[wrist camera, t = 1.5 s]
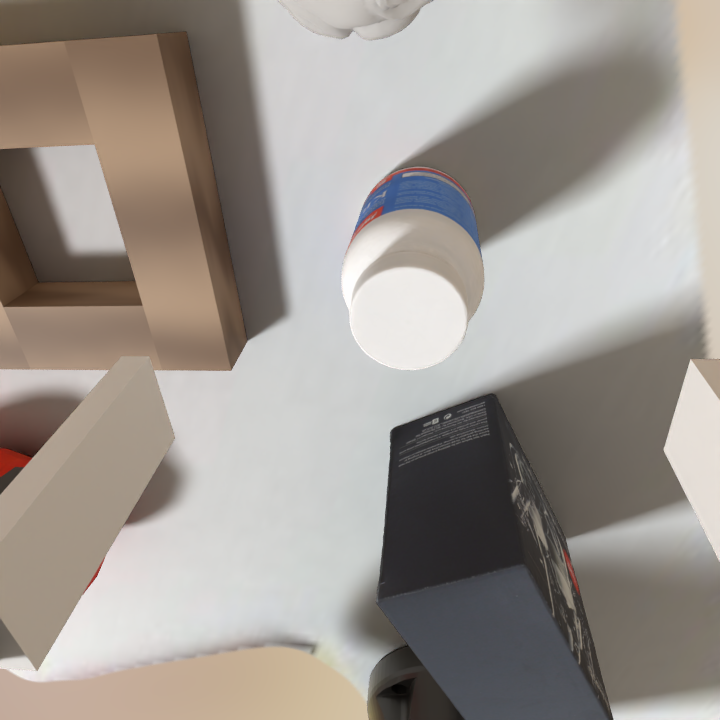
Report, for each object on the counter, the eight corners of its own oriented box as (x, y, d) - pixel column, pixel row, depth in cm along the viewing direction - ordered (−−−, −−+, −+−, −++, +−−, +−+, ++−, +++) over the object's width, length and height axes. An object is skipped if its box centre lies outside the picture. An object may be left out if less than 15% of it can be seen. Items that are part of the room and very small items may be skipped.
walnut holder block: (247, 341, 31) (231, 370, 29) (3, 341, 33) (-32, 368, 31) (186, 31, 23) (156, 34, 21) (-129, 55, 25) (-191, 60, 23)
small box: (570, 538, 37) (622, 738, 27) (472, 562, 39) (486, 754, 29) (497, 388, 31) (527, 569, 21) (387, 426, 34) (368, 605, 23)
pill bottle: (373, 151, 25) (344, 221, 17) (489, 179, 25) (516, 261, 17) (351, 262, 28) (317, 367, 20) (454, 286, 28) (463, 401, 20)
